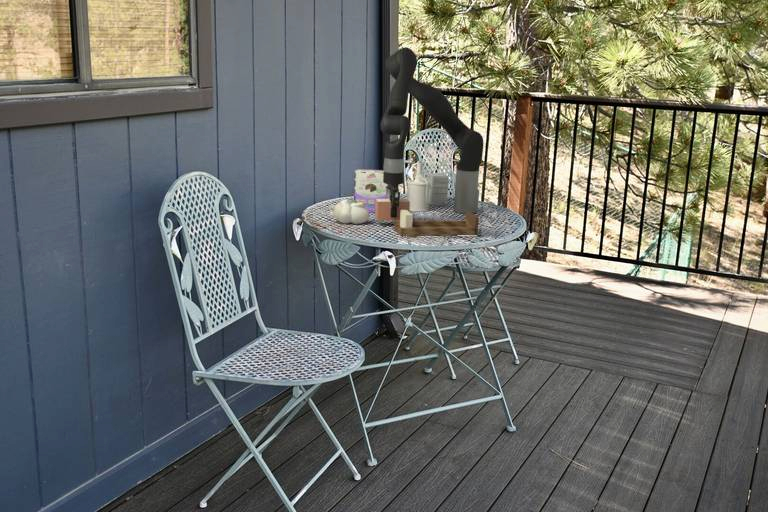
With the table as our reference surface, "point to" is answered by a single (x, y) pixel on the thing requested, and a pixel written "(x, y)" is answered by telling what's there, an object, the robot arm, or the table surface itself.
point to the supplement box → (437, 188)
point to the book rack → (440, 227)
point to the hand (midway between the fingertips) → (392, 215)
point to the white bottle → (418, 191)
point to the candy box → (369, 187)
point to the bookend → (406, 219)
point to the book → (389, 209)
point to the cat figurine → (350, 212)
